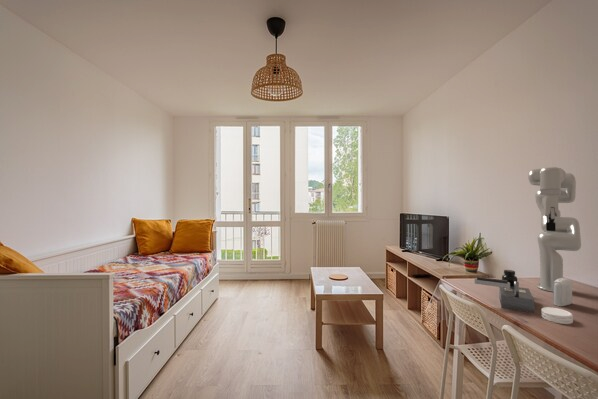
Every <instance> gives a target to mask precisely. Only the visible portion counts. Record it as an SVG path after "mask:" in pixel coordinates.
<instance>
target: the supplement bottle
mask: <svg viewBox="0 0 598 399" xmlns="http://www.w3.org/2000/svg"><path fill="white" fill-rule="evenodd" d="M501 280H507V282H510V286H512V287H514V282H519V281H518V277H517V276H516V271H515V270H512V269H504V270H503V274H502V275H501Z"/></svg>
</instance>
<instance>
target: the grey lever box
mask: <svg viewBox="0 0 598 399" xmlns="http://www.w3.org/2000/svg"><path fill="white" fill-rule="evenodd" d="M498 290H499V291H498V294H499V295H498V296H499V302H500V308H501V309H507V310H514V311H519V312H526V313H530V314H535V299H534V297H533V295H532V292H531V291H530V289H529V288H528V287H520V282H519V281H518V282H514V287H512V286H510V288H503V287H498Z"/></svg>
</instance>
